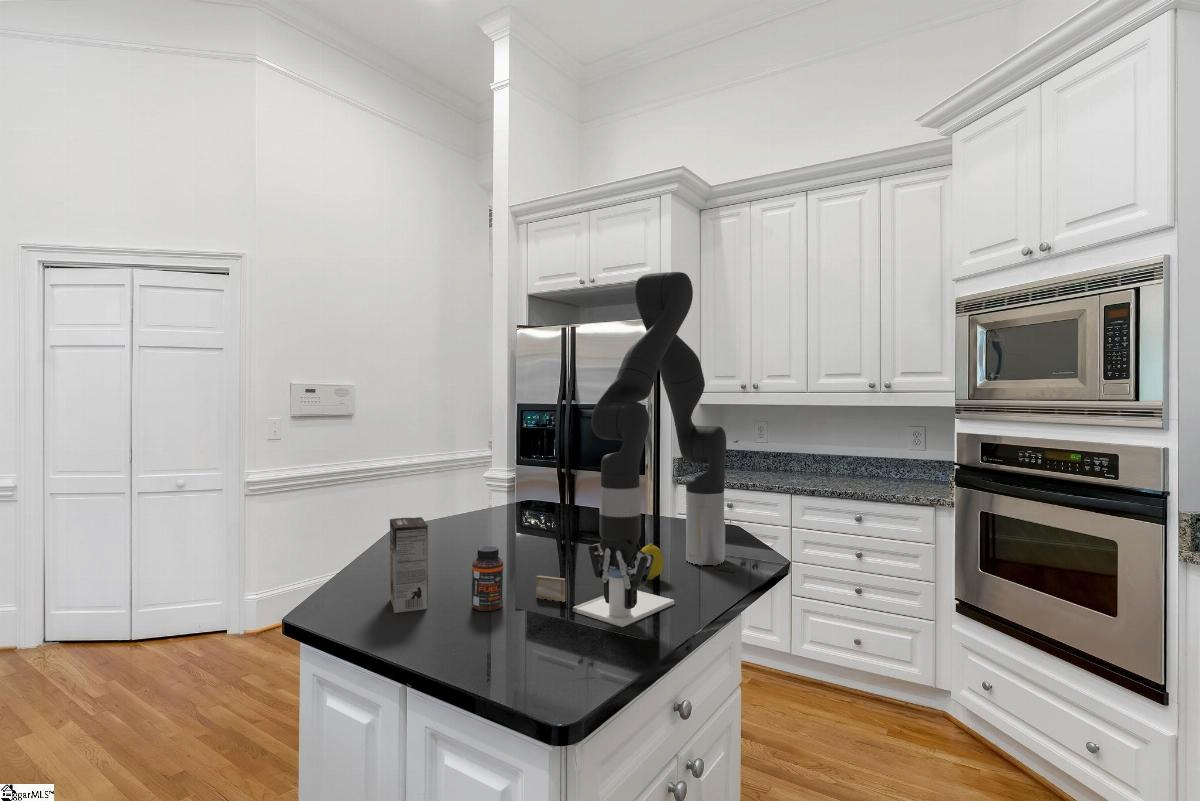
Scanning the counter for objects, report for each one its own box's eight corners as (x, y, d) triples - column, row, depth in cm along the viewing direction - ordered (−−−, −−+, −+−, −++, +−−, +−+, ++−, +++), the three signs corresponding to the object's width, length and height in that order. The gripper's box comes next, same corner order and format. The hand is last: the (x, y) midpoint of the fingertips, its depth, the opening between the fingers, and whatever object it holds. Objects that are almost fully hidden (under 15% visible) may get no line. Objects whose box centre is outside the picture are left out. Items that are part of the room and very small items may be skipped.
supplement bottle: (476, 614, 115) (476, 553, 115) (468, 604, 120) (467, 546, 120) (507, 609, 118) (507, 550, 118) (497, 600, 123) (497, 543, 123)
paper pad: (626, 591, 129) (626, 587, 129) (674, 604, 121) (674, 599, 121) (572, 611, 116) (572, 607, 116) (622, 627, 109) (622, 622, 109)
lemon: (661, 584, 133) (661, 547, 133) (636, 582, 135) (636, 545, 135) (664, 576, 139) (664, 541, 139) (640, 575, 140) (640, 540, 140)
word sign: (537, 597, 125) (538, 575, 125) (565, 600, 123) (565, 578, 123) (536, 598, 124) (536, 576, 124) (563, 602, 122) (563, 579, 122)
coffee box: (389, 599, 124) (389, 518, 123) (422, 595, 126) (422, 515, 126) (393, 613, 115) (393, 527, 115) (428, 609, 118) (428, 524, 118)
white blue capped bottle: (618, 607, 116) (618, 563, 116) (636, 612, 113) (636, 567, 113) (603, 613, 113) (603, 568, 112) (621, 618, 110) (621, 572, 110)
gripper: (664, 513, 111) (664, 608, 111) (604, 504, 120) (603, 592, 120) (638, 519, 105) (638, 620, 105) (577, 509, 115) (577, 601, 115)
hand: (620, 604), depth 113 cm, fingers closed on white blue capped bottle, 4 cm apart
